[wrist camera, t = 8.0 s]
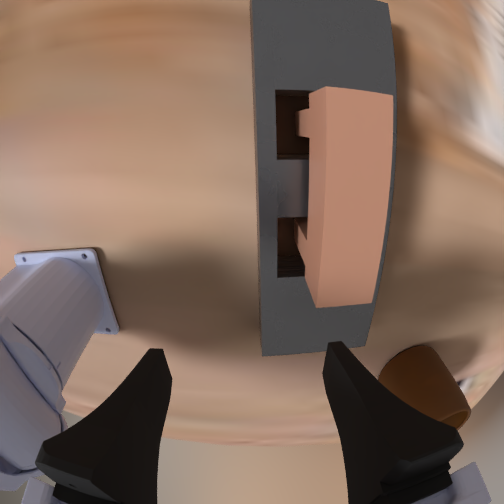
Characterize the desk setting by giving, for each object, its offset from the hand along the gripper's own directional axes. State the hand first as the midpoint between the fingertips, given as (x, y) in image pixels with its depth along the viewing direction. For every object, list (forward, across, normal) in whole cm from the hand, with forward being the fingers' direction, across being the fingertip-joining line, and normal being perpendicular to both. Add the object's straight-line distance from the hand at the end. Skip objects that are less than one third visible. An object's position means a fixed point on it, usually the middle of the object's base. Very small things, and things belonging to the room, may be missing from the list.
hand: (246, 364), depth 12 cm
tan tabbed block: (+9, -5, -6) cm, 12 cm away
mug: (+10, -17, +16) cm, 25 cm away
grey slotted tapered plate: (+9, -5, -6) cm, 12 cm away
